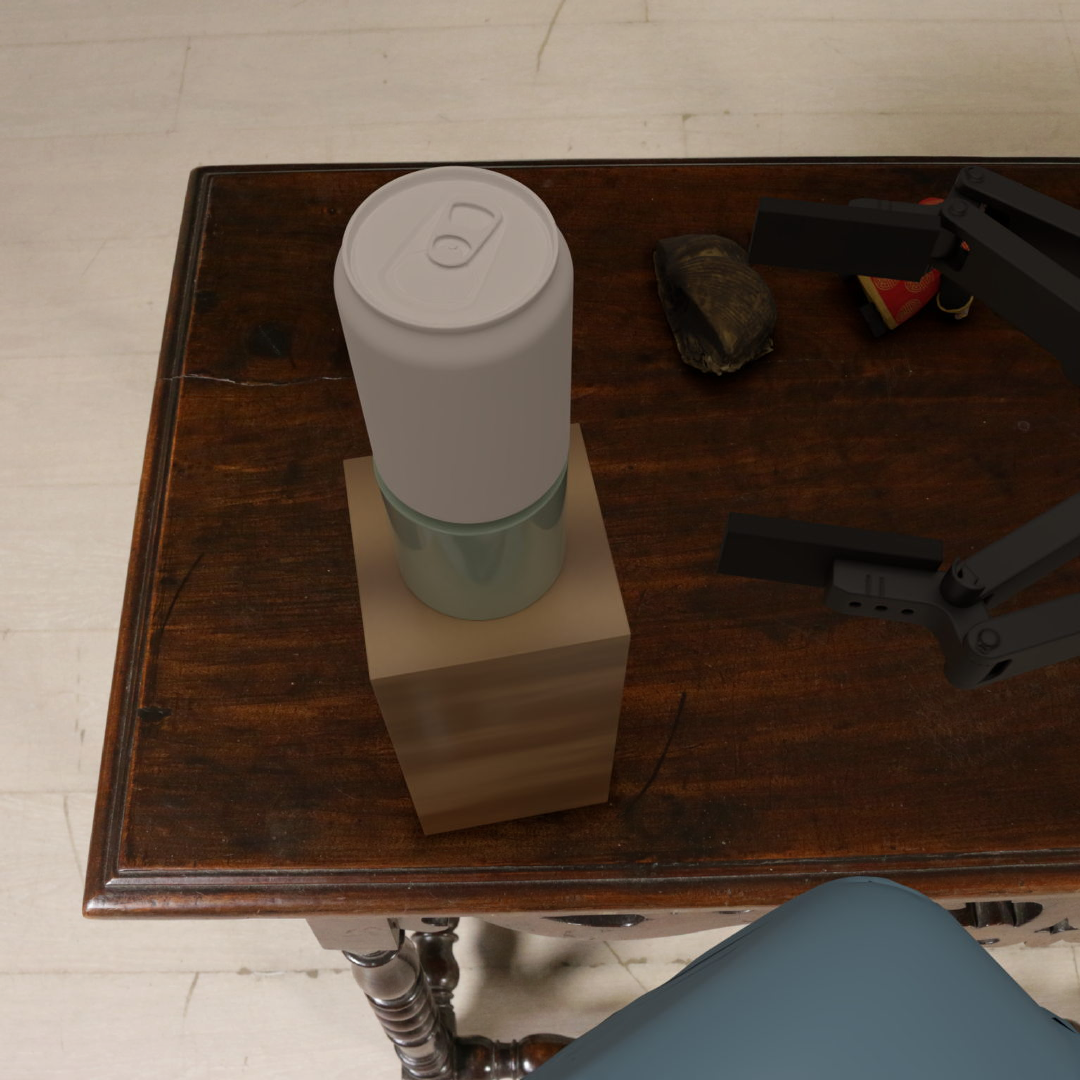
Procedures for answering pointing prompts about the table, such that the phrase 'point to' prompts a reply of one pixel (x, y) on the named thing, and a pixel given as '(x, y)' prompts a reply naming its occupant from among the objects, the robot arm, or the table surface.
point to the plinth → (497, 673)
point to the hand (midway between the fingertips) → (738, 373)
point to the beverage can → (460, 340)
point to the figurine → (908, 294)
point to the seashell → (714, 302)
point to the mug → (480, 554)
